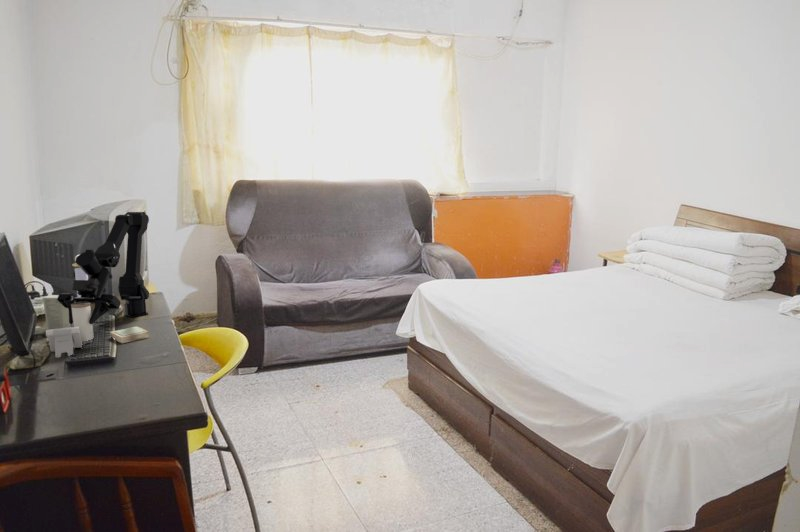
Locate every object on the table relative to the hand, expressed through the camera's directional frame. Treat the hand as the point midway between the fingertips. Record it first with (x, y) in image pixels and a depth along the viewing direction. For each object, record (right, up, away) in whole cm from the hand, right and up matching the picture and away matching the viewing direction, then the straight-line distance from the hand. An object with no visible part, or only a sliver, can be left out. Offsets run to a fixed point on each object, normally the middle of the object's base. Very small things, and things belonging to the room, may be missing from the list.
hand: (80, 323), depth 190 cm
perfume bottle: (-28, +3, +55) cm, 62 cm away
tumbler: (0, -6, +3) cm, 7 cm away
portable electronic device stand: (0, -8, -8) cm, 12 cm away
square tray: (+13, -5, +7) cm, 16 cm away
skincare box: (-16, -4, +16) cm, 23 cm away
